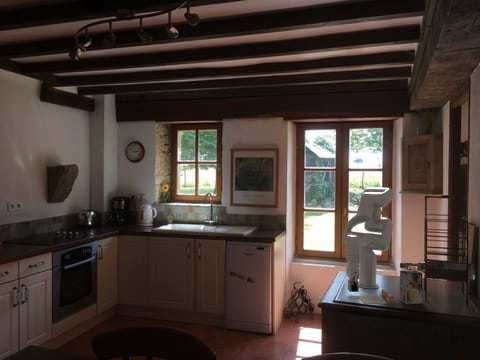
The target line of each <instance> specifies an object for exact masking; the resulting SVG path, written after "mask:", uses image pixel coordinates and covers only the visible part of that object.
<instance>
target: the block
mask: <svg viewBox="0 0 480 360" xmlns="http://www.w3.org/2000/svg"><path fill="white" fill-rule="evenodd" d="M354 281H355V280H353V282H354ZM351 284H352V280H350V279H349V278H348V279H347V290H348V291H349V293H353V292H352V291H351ZM359 292H360V287H359V280H358V285H357V292H356V293H359Z"/></svg>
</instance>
